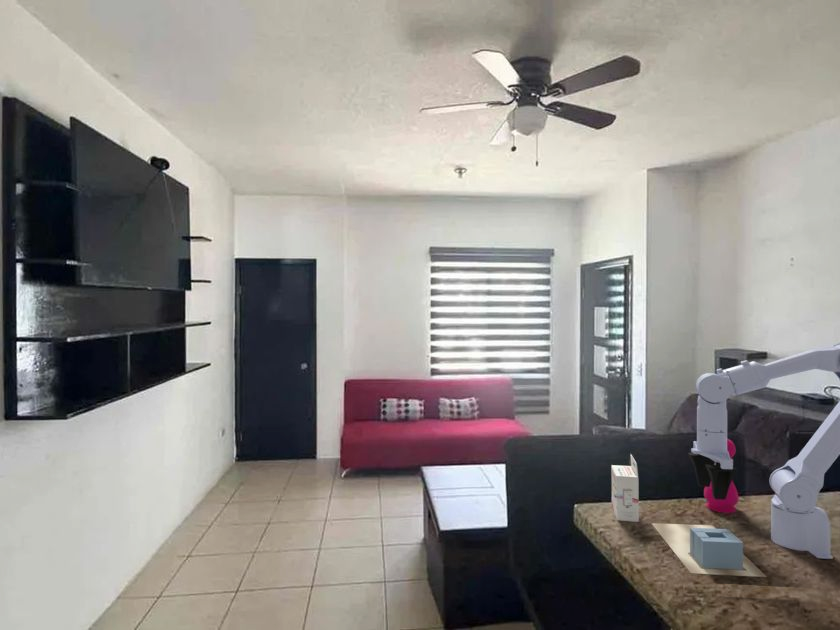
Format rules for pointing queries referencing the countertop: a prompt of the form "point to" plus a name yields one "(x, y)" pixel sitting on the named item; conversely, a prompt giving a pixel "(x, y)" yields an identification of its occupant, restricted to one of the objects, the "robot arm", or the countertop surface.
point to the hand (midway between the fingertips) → (711, 492)
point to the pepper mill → (732, 494)
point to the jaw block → (716, 548)
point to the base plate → (680, 544)
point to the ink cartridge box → (625, 491)
